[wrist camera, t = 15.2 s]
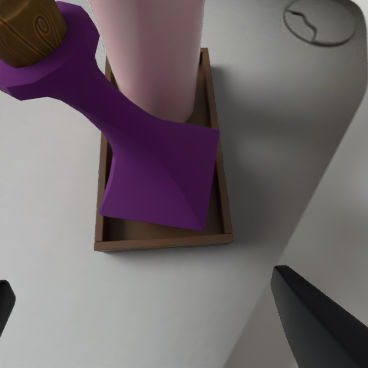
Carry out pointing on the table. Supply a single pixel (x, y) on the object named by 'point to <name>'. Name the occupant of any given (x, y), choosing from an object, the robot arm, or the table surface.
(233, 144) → the table surface
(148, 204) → the perfume bottle
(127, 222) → the tray
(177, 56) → the pink cylinder
